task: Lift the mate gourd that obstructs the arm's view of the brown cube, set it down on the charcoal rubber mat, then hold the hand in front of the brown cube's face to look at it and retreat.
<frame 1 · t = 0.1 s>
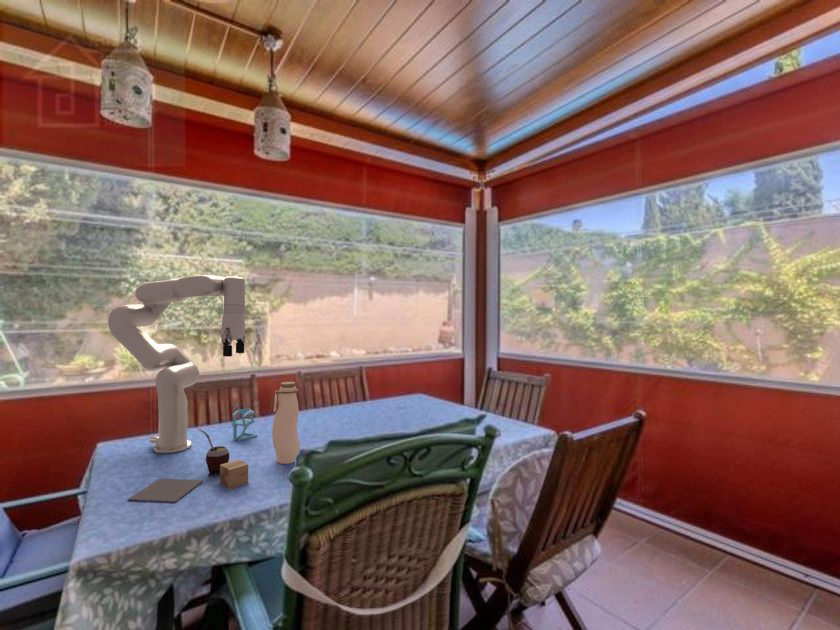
hand: (234, 354, 160), 37 cm above the table, tool pointing down, fingers open, 9 cm apart
mate gourd: (216, 473, 141), on the table
rubber mat: (167, 490, 127), on the table
chair: (243, 438, 176), on the table
brown cube: (234, 483, 133), on the table
water bottle: (285, 460, 153), on the table
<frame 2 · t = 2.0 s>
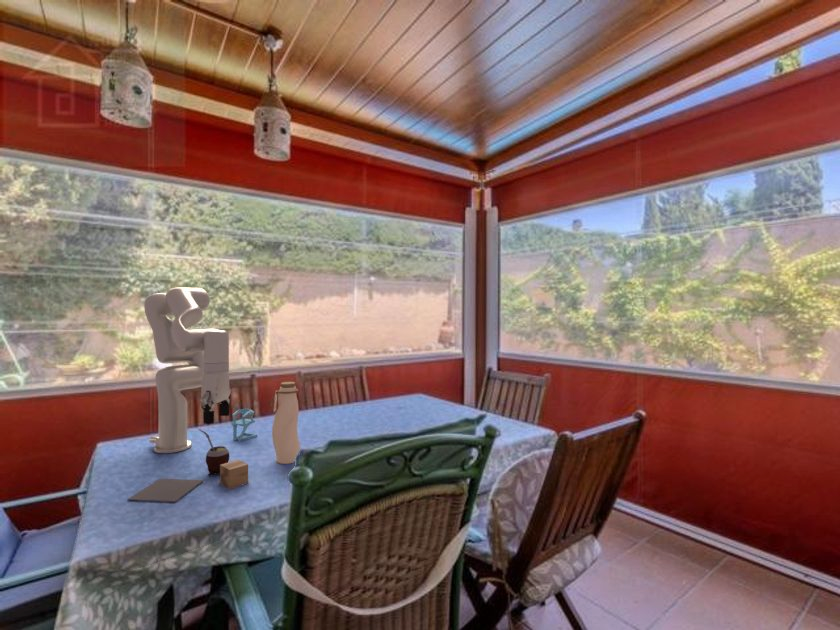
hand: (216, 419, 140), 18 cm above the table, tool pointing down, fingers open, 9 cm apart
nothing on the table moved.
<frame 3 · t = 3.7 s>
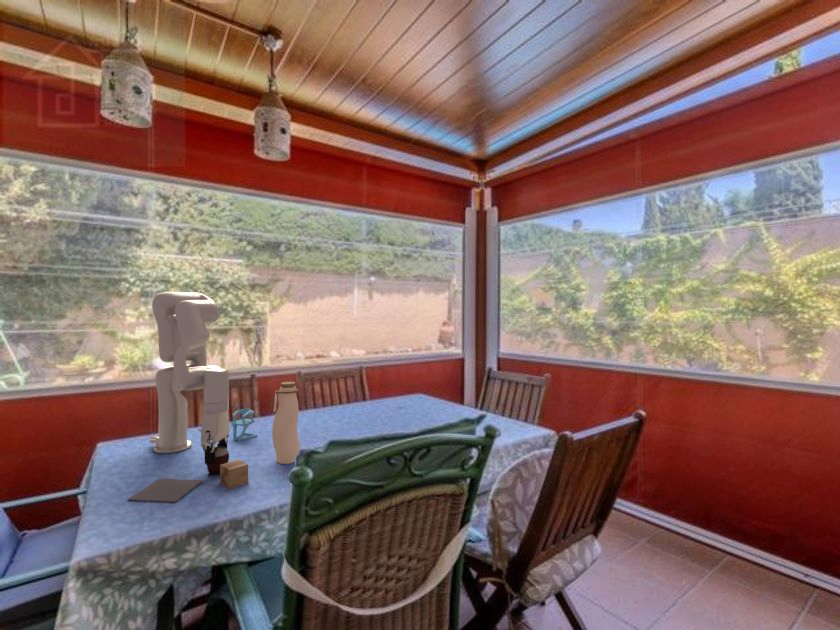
hand: (216, 459, 141), 5 cm above the table, tool pointing down, fingers closed on mate gourd, 7 cm apart
mate gourd: (215, 473, 140), on the table, touching gripper
everything else where it was.
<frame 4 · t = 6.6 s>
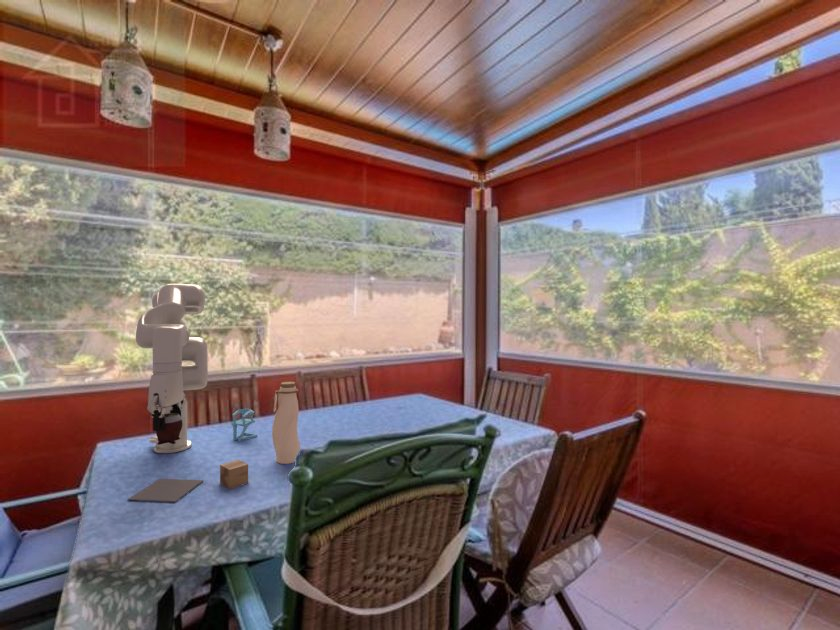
hand: (167, 426, 126), 19 cm above the table, tool pointing down, fingers closed on mate gourd, 7 cm apart
mate gourd: (167, 442, 126), point 15 cm above the table, touching gripper
everything else where it was.
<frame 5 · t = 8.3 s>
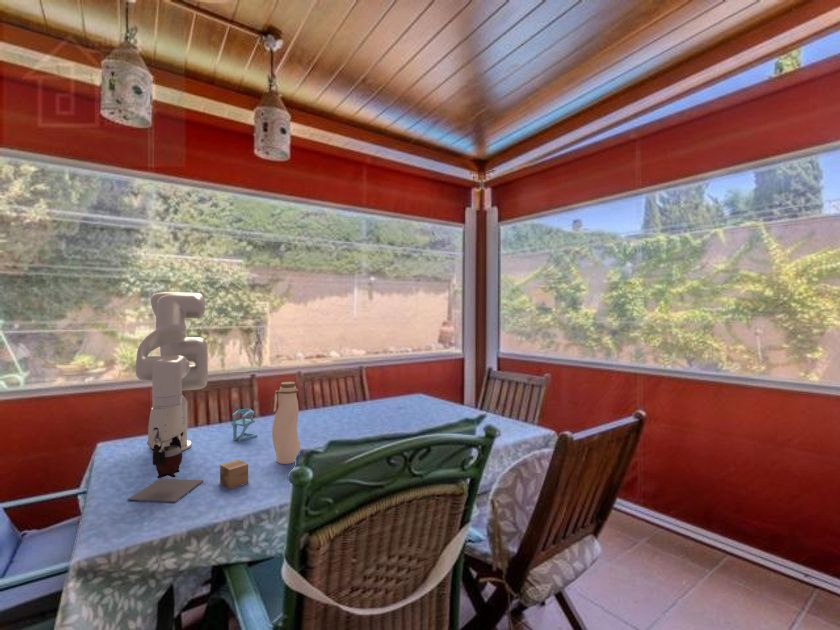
hand: (167, 459, 127), 10 cm above the table, tool pointing down, fingers closed on mate gourd, 7 cm apart
mate gourd: (166, 475, 126), point 5 cm above the table, touching gripper
everything else where it was.
when the fingers open (6 cm above the table, at t = 9.5 s): mate gourd drops 1 cm, resting on rubber mat.
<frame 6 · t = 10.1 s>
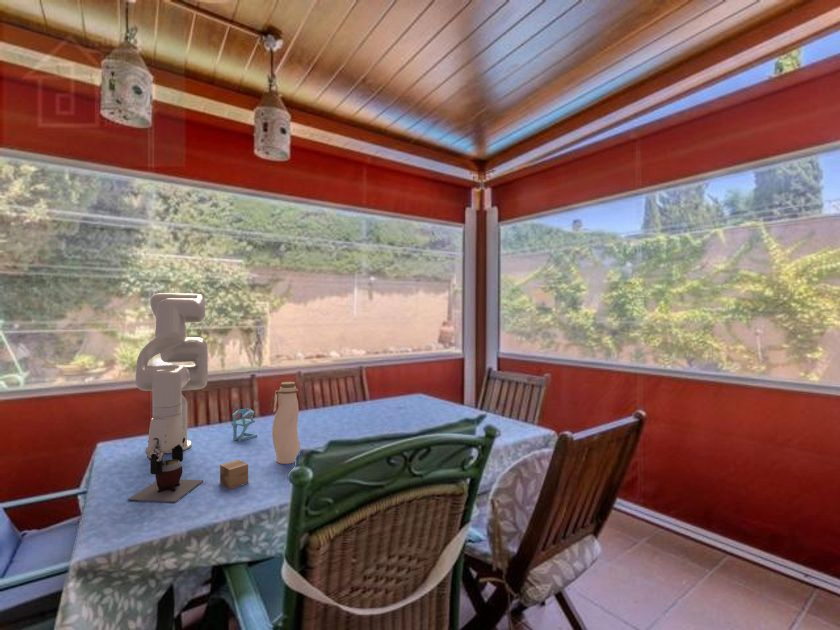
hand: (167, 467, 127), 7 cm above the table, tool pointing down, fingers open, 9 cm apart
mate gourd: (167, 489, 127), resting on rubber mat
everything else where it was.
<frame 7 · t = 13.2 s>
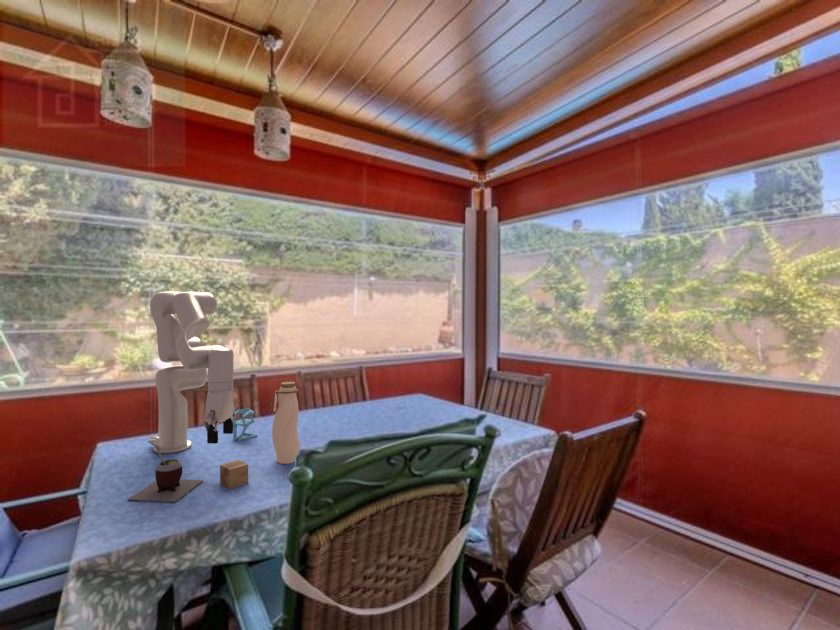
hand: (220, 438, 138), 12 cm above the table, tool pointing down, fingers open, 9 cm apart
nothing on the table moved.
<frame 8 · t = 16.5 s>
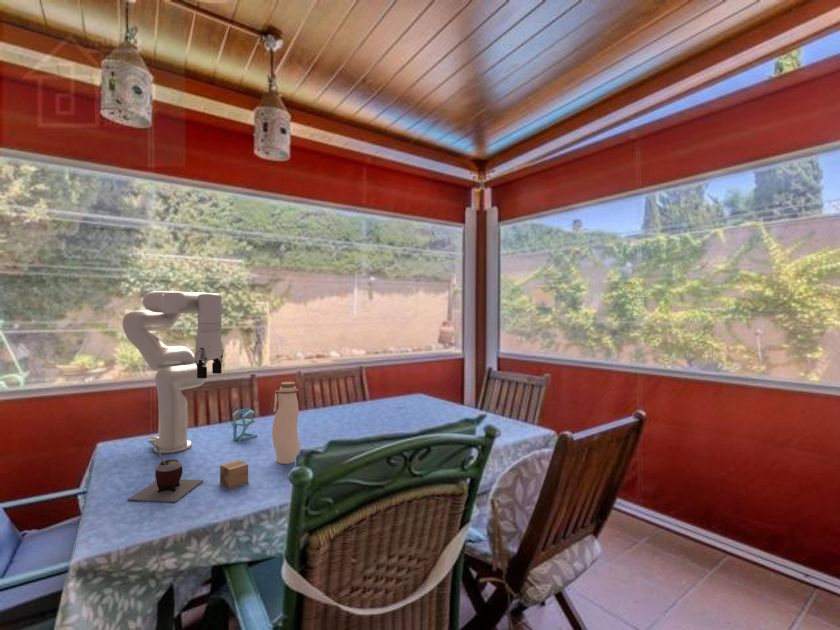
hand: (209, 375, 151), 30 cm above the table, tool pointing down, fingers open, 9 cm apart
nothing on the table moved.
at the end: mate gourd inside the target area on the rubber mat (0.1 cm from its centre), point 0.3 cm above the rubber mat's base; mate gourd tilted 0°; brown cube moved 0.1 cm from its start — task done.
